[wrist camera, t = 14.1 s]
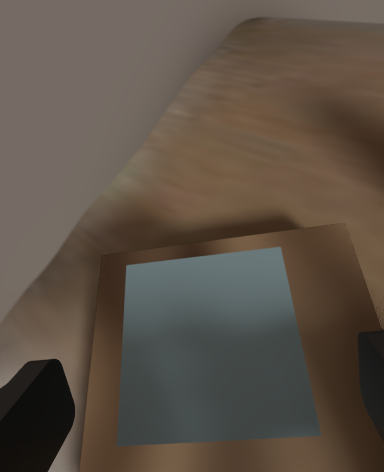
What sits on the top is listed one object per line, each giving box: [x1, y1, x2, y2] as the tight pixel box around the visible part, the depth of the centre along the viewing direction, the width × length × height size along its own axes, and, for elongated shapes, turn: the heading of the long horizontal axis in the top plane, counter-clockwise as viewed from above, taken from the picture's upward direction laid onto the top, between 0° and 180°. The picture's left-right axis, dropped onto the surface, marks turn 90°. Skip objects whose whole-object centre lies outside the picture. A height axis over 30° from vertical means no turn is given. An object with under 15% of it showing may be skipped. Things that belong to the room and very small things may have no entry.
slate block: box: [117, 247, 322, 447], centre depth 13 cm, size 5×5×9 cm
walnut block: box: [79, 223, 384, 472], centre depth 19 cm, size 16×16×5 cm
